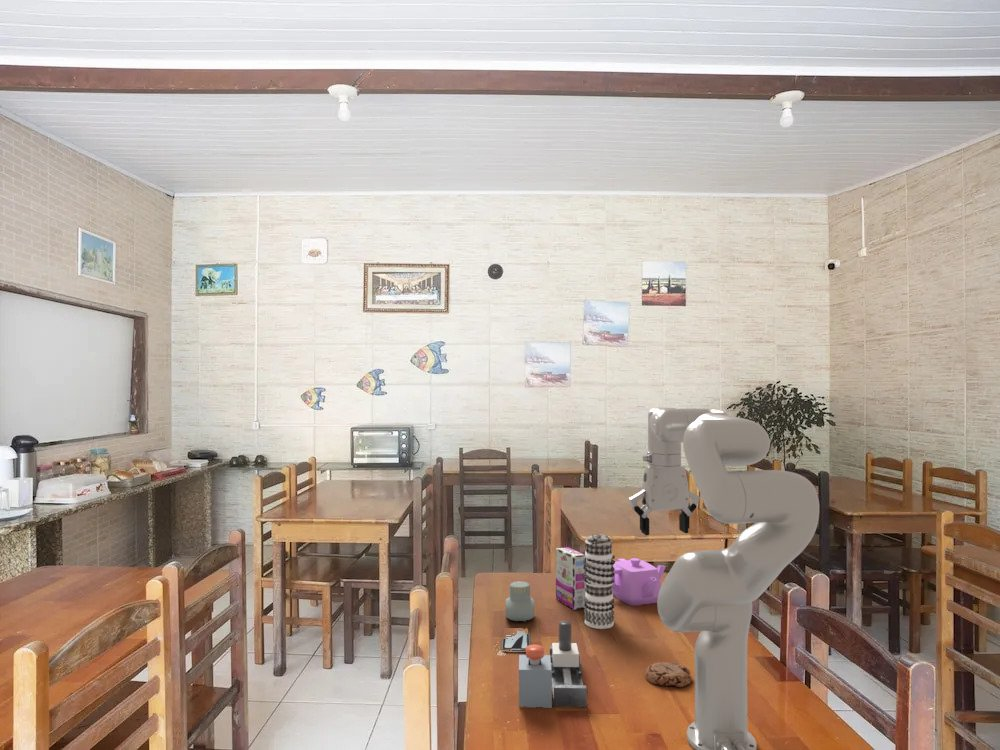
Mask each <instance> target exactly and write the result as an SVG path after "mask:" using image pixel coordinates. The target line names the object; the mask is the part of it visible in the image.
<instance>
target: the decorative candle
mask: <svg viewBox="0 0 1000 750" xmlns="http://www.w3.org/2000/svg"><path fill="white" fill-rule="evenodd" d="M584 543H585V551H584V555H585V557H586V558H585V559H584V560H583V564H584V565H583V566H584V567H583V569H585V572H584V576H585V577H584V582H585V583H586V592H585V599H584V601H585V604H584V606H585V607H586V608H584V609H583V610H584V611H583V612H584V615H583V618H584V624H585V625H586V626H588V627H590V628H591V629H592V628H593V629H598V630H599V629H600V630H605V629H610V628H612V627H613V626H615V610H614V609H615V604H614V603H615V599H614V594H613V592H612V585H613V584H614V580H613V579H612V577H613V576H614V575H615V574H614V573H613V571H614V570H615V568H614V567H613V565H614V564H615V562H616V560H615V559H616V555H614V554H613V540H611V538H610V537H609V536H607V535H605V534H601V533H600V534H599V533H598V534H597V533H595V534H590V535H589V536H588V537H587V538H586V539H584Z"/></svg>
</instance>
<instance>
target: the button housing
mask: <svg viewBox="0 0 1000 750" xmlns="http://www.w3.org/2000/svg"><path fill="white" fill-rule="evenodd" d="M552 699H553V691H552V670H551V660H550V654H548V655H547V654H544V657H543V658H541V659H539V665H530V659H529V658H527V657H526V654H518V707H519V706H527V707H526V708H536V707H543V708H544V709H545V708H546V709H547V708H548V709H549V708H550V709H552V707H553V706H552V705H553V700H552Z"/></svg>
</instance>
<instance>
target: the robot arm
mask: <svg viewBox="0 0 1000 750" xmlns="http://www.w3.org/2000/svg"><path fill="white" fill-rule="evenodd" d="M682 444H683V445H682ZM682 447H683V452H684V457H685V459H686V462H687V464H688V467H689V470H690V472H691V475H692V476H693V479H694V481H695V484H696V486H697V489H698V491H699V494H700V496H699V495H697V494H695V493H693V492H692V491H690V490H689V481H688V475H687V472H686V467H685V466H684V465H682ZM770 447H771V440H770V436H769V434H768V432H767V431H766V430H765V428H764V427H763V426H762V425H760V424H759V423H757V422H755V421H753V420H750V419H747V418H742V417H737V416H733V415H729V414H728V413H727V412H726V411H723V410H718V409H713V408H674V407H652V408H651V409H649V410H648V412H647V454H646V455H643V456H642V461H643V462H646V463H647V464H646V465H645V467H644V472H643V478H642V486H641V487H642V488H641V490H640V491H639V492H637V493H635V494H634V495H633V496H630V497H628V501H629V503H630V506H631V507H632V510H633V512H635V513H636V514H637V515H638V516H639V530H640V531H641V534H643V535H645V536H649V535H650V518H649V517H648V516H649V515H650V513H651V512H652V511H660V512H661V511H680V512H681V513H679V516H678V519H679V520H678V521H679V523H678V526H679V527H678V529H679V531H680V532H683V533H684V534H689V529H690V517H692V514H693V512H694V511H695V510H696V509H697V505H698V504H699V502H700V499H701V500H702V502H703V504H704V506H705V508H706V510H707V512H708V513H709V515H710V516H711V517H712V518H713V519H714V520H716V521H718V522H720V523H723V524H729V525H730V524H731V525H733V524H736V525H737V524H752V525H749V527H746V528H745V529H744V530H743V531H741V532H740V533H739V534H738V536H737V537H736V539H735V540H734V541H733V542H732V544H731V545H730V546H729V547H726V548H721V549H709V550H708V549H704V550H694V551H693V550H692V551H688V552H685V553H683V554H682V555H680V556H679V557H677V559H676V560H675V562H674V563H673V565H672V566H671V568H670V570H669V572H668V574H667V575H666V577H665V578H664V579H663V581H662V583H661V587H660V590H659V593H658V599H657V603H656V604H657V605H656V606H657V613H658V615H659V618H660V621H661V622H662V623H663V625H664V626H665V627H666V628H668V630H671V631H673V632H676V633H690V632H691V633H692V632H699V633H698V637H697V639H696V641H695V644H694V721H693V722H691V723H690V724H689V725H688V726H687V729H686V738H687V742H688V743H689V745H690V746H691V747H692V748H693V749H694V750H757V749H758V748H757V745H758V744H757V741H756V738H755V737H754V736H753V734H752V733H751V732H749V731H748V638H749V630H750V625H751V621H752V615H753V602H755V601H756V600H757V599H759V598H760V597H761V595H763V593H764V592H765V591H766V590H767V589H768V588H769V586H771V584H772V583H773V582H774V581H775V580H776V579H777V578H778V577H779V575H780V574H781V573H782V572H783V570H784V569H785V568H786V567H787V566H788V565H790V563H791V562H792V561H794V560H795V559H796V558H797V557H798V556H799V555H800V554H802V552H803V551H804V550H805V549H806V548H807V546H808V545H809V544H810V542H811V541H812V539H813V538H814V535H815V533H816V530H817V528H818V524H819V519H820V500H819V495H818V492H817V489H816V487H815V486H814V484H813V483H812V481H810V480H809V479H808V478H806V476H803V475H801V474H799V473H797V472H793V471H788V470H780V469H779V470H777V469H763V470H762V469H759V470H730V471H729V470H727V468H726V467H743V466H744V467H745V466H751V465H755V464H757V463H759V462H761V461H763V459H765V457H766V456H767V454H768V453H769V452H770ZM639 501H641V503H642V505H641V507H640V506H639V504H638V502H639Z"/></svg>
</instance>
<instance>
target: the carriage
mask: <svg viewBox="0 0 1000 750" xmlns="http://www.w3.org/2000/svg"><path fill="white" fill-rule="evenodd" d="M577 644H578V643H577V642H572V622H570V621H567V620H560V621H559V622H558V642H551V647H552V655H550V654H549V655H550V660H551V670H552V672H553V667H578V671H579V672H581V673H582V670H583V669H582V663H581V657H580V653H579V652H580V651H579V646H578V645H577ZM552 659H553V661H552ZM552 662H553V663H552Z"/></svg>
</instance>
